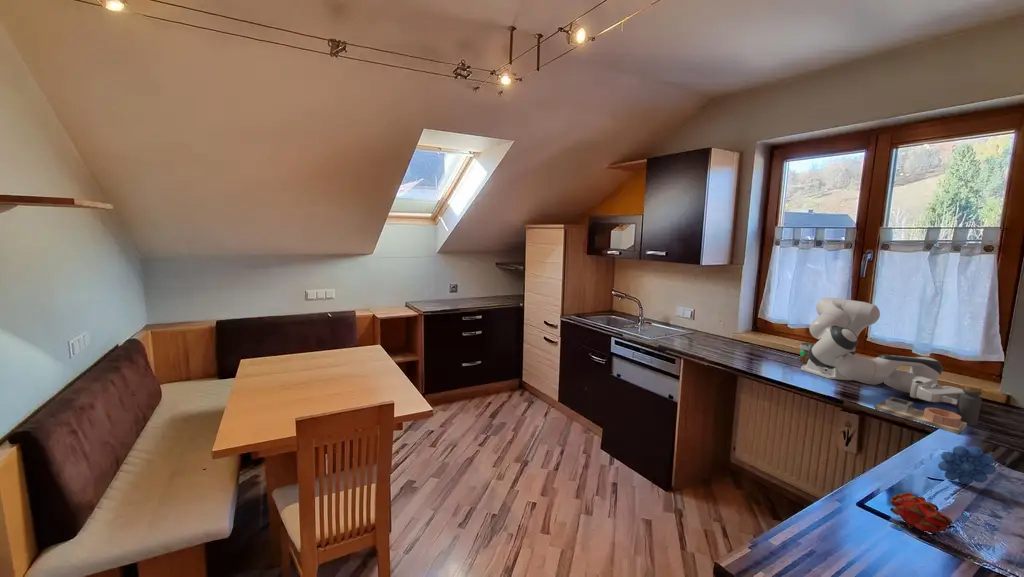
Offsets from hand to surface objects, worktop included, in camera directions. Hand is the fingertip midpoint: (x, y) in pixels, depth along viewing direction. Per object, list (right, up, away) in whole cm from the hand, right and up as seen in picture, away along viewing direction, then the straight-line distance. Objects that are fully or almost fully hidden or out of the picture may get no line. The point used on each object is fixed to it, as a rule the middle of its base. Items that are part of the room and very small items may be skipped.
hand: (966, 401), depth 172 cm
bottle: (0, -8, +1) cm, 8 cm away
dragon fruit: (-76, -15, -63) cm, 100 cm away
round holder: (-12, -7, -2) cm, 14 cm away
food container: (-14, +3, +75) cm, 76 cm away
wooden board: (-15, -7, +4) cm, 17 cm away
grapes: (-45, -13, -42) cm, 63 cm away
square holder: (-19, -5, +9) cm, 22 cm away
